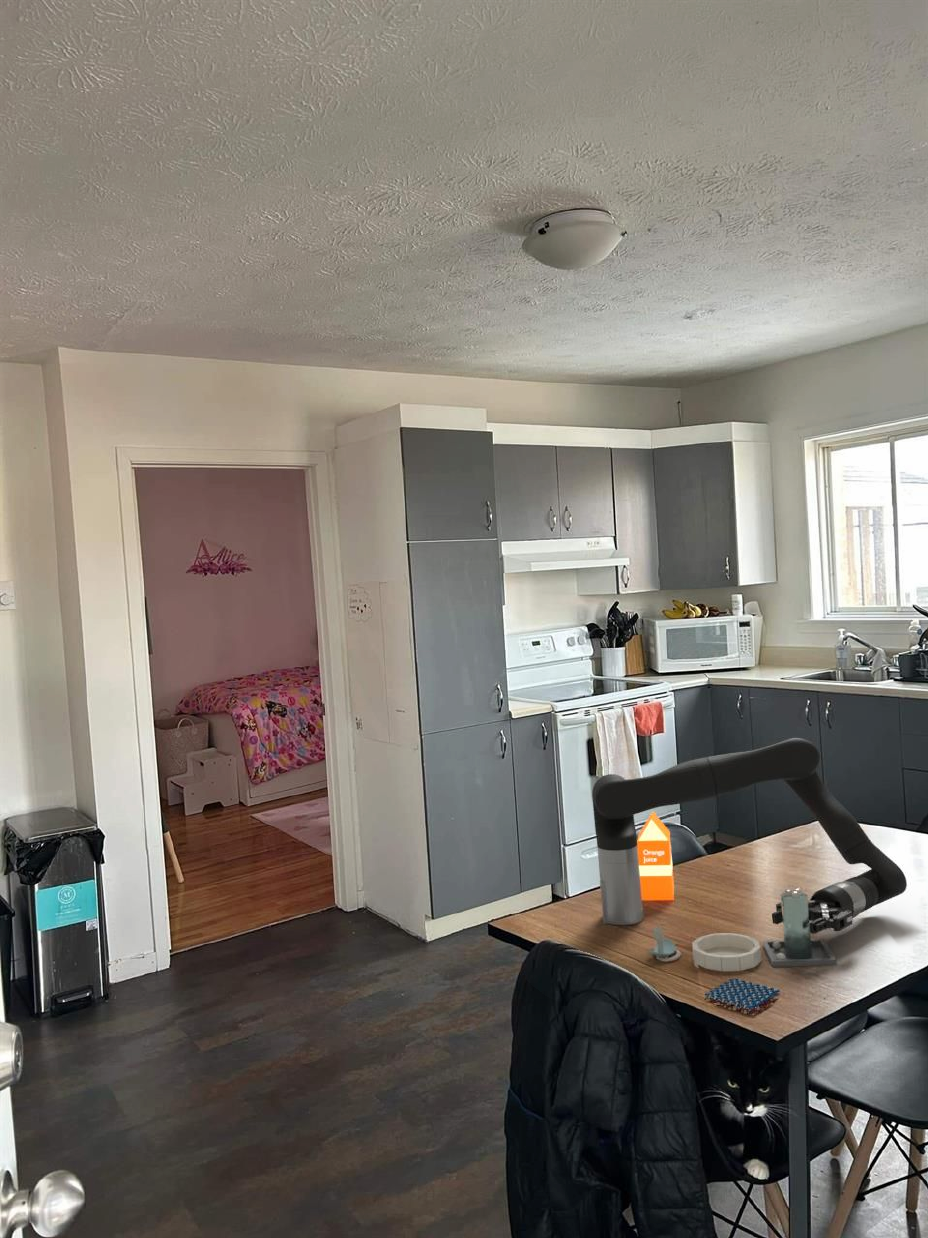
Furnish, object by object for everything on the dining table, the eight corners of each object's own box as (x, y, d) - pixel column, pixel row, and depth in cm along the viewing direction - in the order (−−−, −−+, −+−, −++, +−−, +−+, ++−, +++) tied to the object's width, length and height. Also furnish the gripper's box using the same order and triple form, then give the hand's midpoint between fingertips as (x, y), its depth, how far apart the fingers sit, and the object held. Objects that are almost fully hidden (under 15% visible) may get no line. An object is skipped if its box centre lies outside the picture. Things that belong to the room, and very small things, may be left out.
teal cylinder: (788, 960, 189) (782, 894, 189) (783, 950, 194) (778, 886, 194) (814, 959, 188) (809, 893, 188) (809, 950, 193) (803, 885, 193)
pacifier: (686, 954, 200) (659, 949, 203) (684, 924, 199) (657, 919, 203) (672, 966, 194) (644, 961, 197) (670, 936, 193) (643, 931, 197)
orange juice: (641, 900, 235) (634, 819, 235) (643, 889, 243) (637, 810, 243) (674, 900, 233) (667, 818, 233) (675, 888, 242) (668, 809, 241)
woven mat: (754, 1020, 168) (753, 1009, 168) (702, 1005, 176) (701, 994, 175) (785, 1000, 175) (784, 989, 174) (734, 986, 182) (733, 975, 182)
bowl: (697, 976, 187) (695, 958, 187) (691, 951, 200) (689, 934, 200) (766, 974, 185) (764, 956, 185) (755, 949, 198) (754, 932, 198)
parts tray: (772, 970, 187) (771, 957, 186) (763, 949, 197) (762, 937, 197) (837, 969, 185) (836, 955, 185) (824, 947, 196) (823, 935, 196)
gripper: (806, 879, 206) (760, 898, 196) (869, 891, 194) (823, 912, 185) (809, 913, 206) (763, 934, 196) (871, 928, 194) (826, 951, 185)
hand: (792, 924), depth 190 cm, fingers open, 8 cm apart
